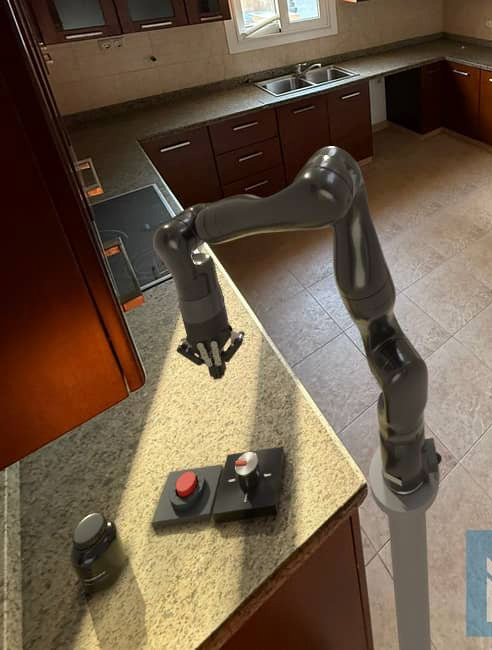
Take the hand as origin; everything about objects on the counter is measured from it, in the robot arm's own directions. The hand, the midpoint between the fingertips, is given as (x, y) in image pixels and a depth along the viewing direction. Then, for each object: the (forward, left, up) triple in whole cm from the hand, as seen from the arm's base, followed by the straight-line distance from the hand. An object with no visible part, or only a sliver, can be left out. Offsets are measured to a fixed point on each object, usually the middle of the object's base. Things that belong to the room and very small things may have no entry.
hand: (219, 375), depth 87 cm
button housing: (+9, +6, -25) cm, 27 cm away
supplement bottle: (+20, +16, -25) cm, 36 cm away
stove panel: (-4, +6, -25) cm, 26 cm away
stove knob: (-4, +6, -22) cm, 23 cm away
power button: (+9, +6, -22) cm, 24 cm away
